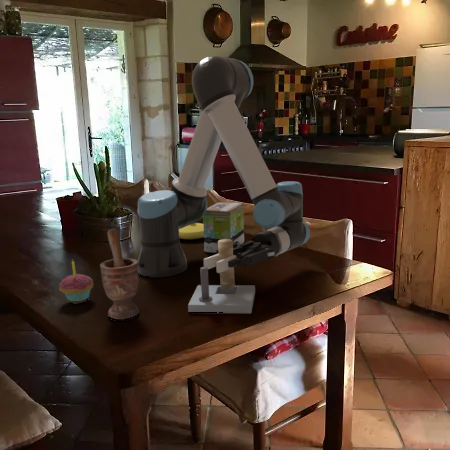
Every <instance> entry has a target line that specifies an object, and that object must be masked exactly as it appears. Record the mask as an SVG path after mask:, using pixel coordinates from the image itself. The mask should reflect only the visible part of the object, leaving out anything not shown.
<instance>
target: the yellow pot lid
mask: <svg viewBox="0 0 450 450" xmlns="http://www.w3.org/2000/svg"><path fill="white" fill-rule="evenodd" d="M179 238H180V239H182V240H198V239H204V223H200V222H196V223H194V224H191V225H188V226H186V227H183V228H181V229H179Z"/></svg>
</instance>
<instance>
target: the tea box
mask: <svg viewBox="0 0 450 450" xmlns="http://www.w3.org/2000/svg"><path fill="white" fill-rule="evenodd" d="M244 210H245V209H244V203H243V202H223V201H222V202H221V201H220V202H219V201H218V202H216V203H214V204H212V205H211V206H209V207H208V206H207V210H206V212H205V214H204V216H203V217H202V218H203V220H202V221H203V223H202V224H204V237H203V250H204V251H203V252H206V253H216V250H218V241H219V240H222V239H231V240H232V241H233V243H234V242H236V241H238V242H239V243H240V244H244V243H245V216H244V215H245V214H244V212H245V211H244Z"/></svg>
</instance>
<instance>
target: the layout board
mask: <svg viewBox="0 0 450 450" xmlns="http://www.w3.org/2000/svg"><path fill="white" fill-rule="evenodd" d="M199 269H200V270H199V272H200V284H198V285H197V286H196V288H195V290H194V293H193V294H192V297H191V298H190V300H189V303H188V304H187V309H188V310H187V313H188V312H217V313H216V314H220V313H219V312H223V313H222V314H252V313H253V312H252V311H253V306H254V302H255V295H256V285H246V284H245V285H241V284H240V285H239V284H237V285H236V284H235V287H234V288H232V289H222V288H221V285H220V284H219V285H218V284H217V285H216V284H214V285H213V284H212V285H211V284H209V283H210V282H209V269H208V268H207V267H204V266H202V267H200V268H199Z"/></svg>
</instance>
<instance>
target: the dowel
mask: <svg viewBox="0 0 450 450" xmlns="http://www.w3.org/2000/svg"><path fill="white" fill-rule="evenodd" d="M218 250H219V261H220V260H222V259H225V258H228V257H231V256H233V241H232V240H231V239H222V240H219V241H218ZM219 281H220V284H219V285H221V288H222V289H232V288H234V287H235V285H236V283H235V267H233V268H231V269H228V270H226V271H223V272H221V273H219Z"/></svg>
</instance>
